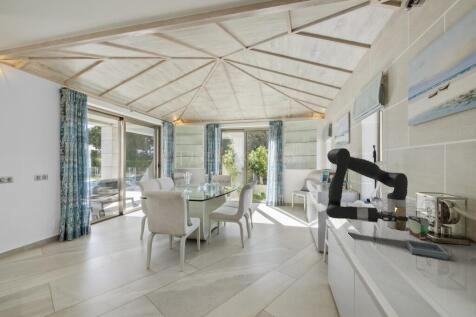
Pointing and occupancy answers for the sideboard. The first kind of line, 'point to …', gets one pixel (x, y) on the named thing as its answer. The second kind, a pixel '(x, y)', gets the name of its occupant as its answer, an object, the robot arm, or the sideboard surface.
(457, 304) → the sideboard surface
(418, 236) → the food container
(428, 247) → the tray
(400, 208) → the bronze can
